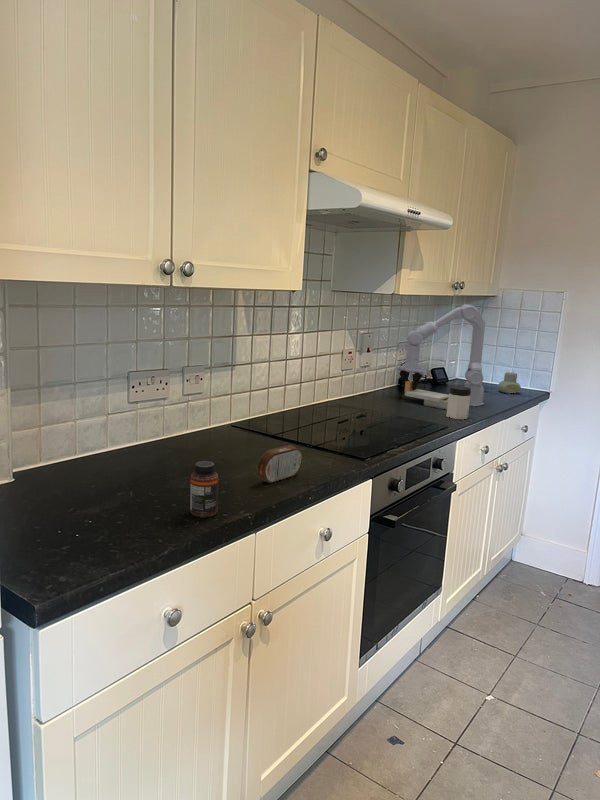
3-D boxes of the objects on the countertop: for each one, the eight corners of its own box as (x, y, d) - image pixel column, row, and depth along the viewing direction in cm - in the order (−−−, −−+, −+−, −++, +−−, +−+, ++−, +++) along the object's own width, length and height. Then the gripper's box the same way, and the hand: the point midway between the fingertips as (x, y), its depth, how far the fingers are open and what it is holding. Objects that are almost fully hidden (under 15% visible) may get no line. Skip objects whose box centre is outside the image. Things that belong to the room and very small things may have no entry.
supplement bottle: (203, 505, 136) (205, 457, 133) (223, 513, 132) (225, 463, 130) (184, 513, 131) (185, 463, 129) (203, 521, 127) (205, 469, 125)
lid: (413, 391, 275) (414, 379, 274) (451, 399, 264) (452, 386, 262) (400, 394, 267) (401, 382, 266) (439, 402, 255) (440, 389, 254)
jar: (465, 420, 236) (469, 390, 233) (444, 417, 239) (448, 388, 236) (469, 416, 244) (472, 387, 241) (448, 413, 247) (452, 384, 244)
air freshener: (500, 393, 300) (503, 373, 298) (495, 390, 308) (497, 371, 306) (522, 395, 300) (524, 375, 298) (516, 391, 308) (518, 372, 306)
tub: (434, 402, 268) (435, 394, 267) (468, 409, 258) (469, 401, 257) (423, 405, 261) (424, 397, 260) (458, 412, 251) (458, 404, 250)
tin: (295, 472, 163) (296, 441, 161) (303, 475, 161) (305, 444, 159) (255, 484, 152) (256, 452, 150) (264, 487, 150) (265, 455, 148)
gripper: (393, 357, 269) (390, 387, 271) (422, 361, 260) (419, 392, 262) (401, 356, 274) (399, 385, 277) (430, 360, 265) (427, 390, 268)
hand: (409, 388), depth 270 cm, fingers open, 4 cm apart
